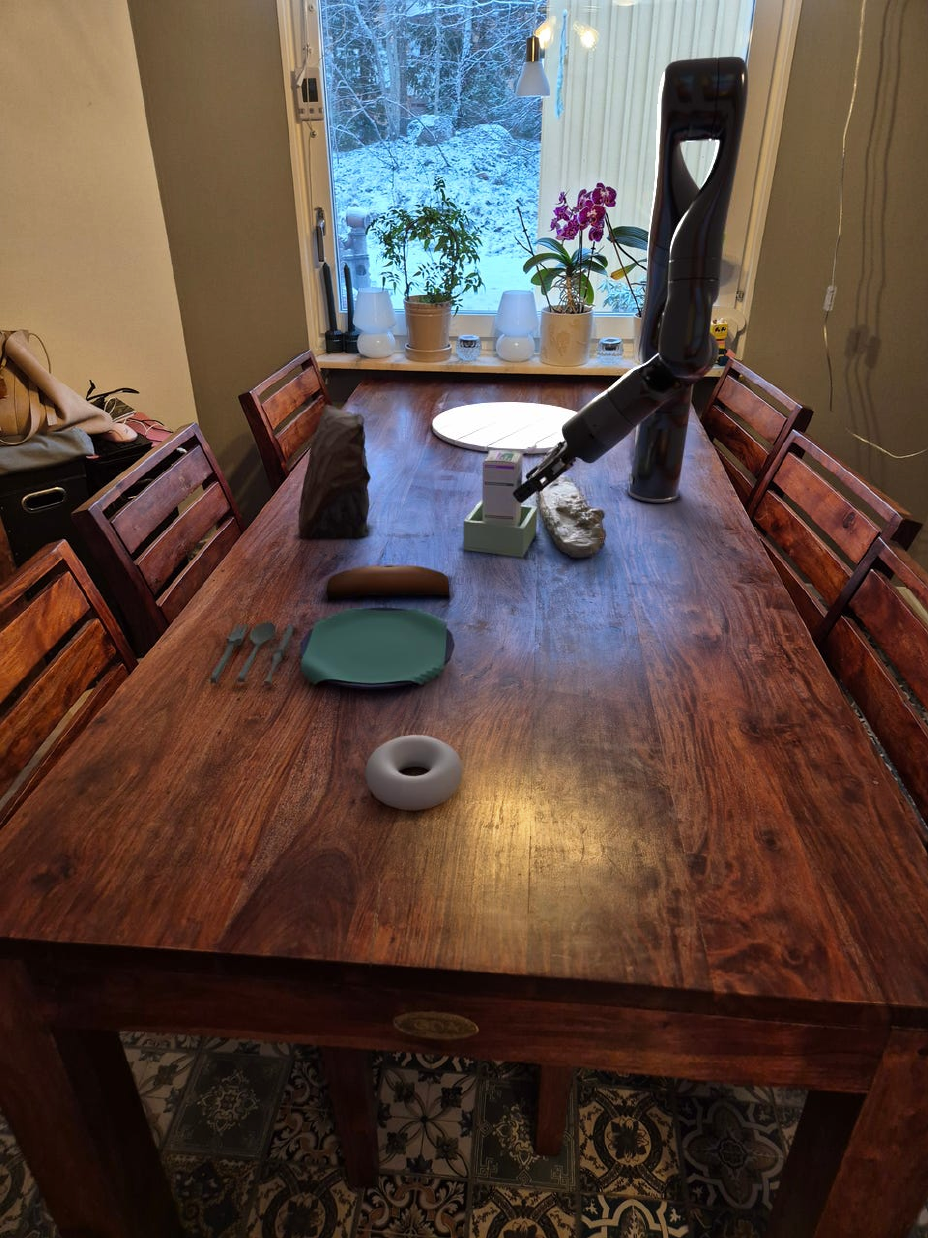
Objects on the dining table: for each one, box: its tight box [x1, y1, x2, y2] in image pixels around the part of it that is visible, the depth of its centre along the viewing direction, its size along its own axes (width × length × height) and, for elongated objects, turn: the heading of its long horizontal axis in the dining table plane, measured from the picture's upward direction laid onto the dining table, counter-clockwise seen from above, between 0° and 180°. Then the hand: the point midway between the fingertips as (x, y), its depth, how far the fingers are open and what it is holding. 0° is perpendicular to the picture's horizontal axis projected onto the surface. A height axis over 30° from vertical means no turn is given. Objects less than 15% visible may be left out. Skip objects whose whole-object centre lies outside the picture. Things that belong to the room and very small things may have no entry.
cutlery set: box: [209, 606, 456, 690], centre depth 105 cm, size 20×30×2 cm, turn 89°
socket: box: [462, 499, 538, 559], centre depth 137 cm, size 10×10×5 cm
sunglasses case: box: [326, 564, 451, 600], centre depth 121 cm, size 18×7×7 cm
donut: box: [364, 734, 464, 811], centre depth 83 cm, size 10×4×10 cm
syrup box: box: [481, 450, 524, 526], centre depth 134 cm, size 6×6×14 cm
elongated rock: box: [535, 474, 607, 558], centre depth 145 cm, size 35×5×10 cm
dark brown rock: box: [297, 404, 372, 539], centre depth 138 cm, size 13×13×20 cm
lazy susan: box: [432, 401, 578, 455], centre depth 195 cm, size 40×39×3 cm
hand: (523, 489), depth 132 cm, fingers open, 8 cm apart
